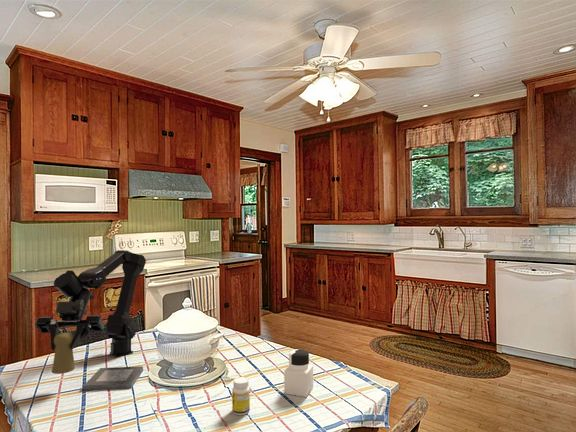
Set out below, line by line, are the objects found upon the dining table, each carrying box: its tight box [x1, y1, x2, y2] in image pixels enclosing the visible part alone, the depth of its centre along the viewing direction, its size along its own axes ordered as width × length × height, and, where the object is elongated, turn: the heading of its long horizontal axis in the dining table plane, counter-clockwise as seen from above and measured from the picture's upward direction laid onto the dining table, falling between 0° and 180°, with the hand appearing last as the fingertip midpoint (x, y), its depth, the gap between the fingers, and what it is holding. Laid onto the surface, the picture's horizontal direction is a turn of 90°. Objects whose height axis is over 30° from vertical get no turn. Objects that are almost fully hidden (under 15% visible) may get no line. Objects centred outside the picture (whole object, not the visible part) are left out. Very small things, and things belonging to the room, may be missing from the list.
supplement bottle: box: [231, 376, 251, 416], centre depth 102 cm, size 5×5×8 cm
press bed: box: [83, 365, 144, 392], centre depth 122 cm, size 14×14×2 cm
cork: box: [51, 332, 76, 375], centre depth 114 cm, size 6×6×11 cm
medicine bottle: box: [283, 348, 314, 398], centre depth 115 cm, size 7×7×12 cm
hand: (61, 349), depth 113 cm, fingers closed on cork, 5 cm apart
